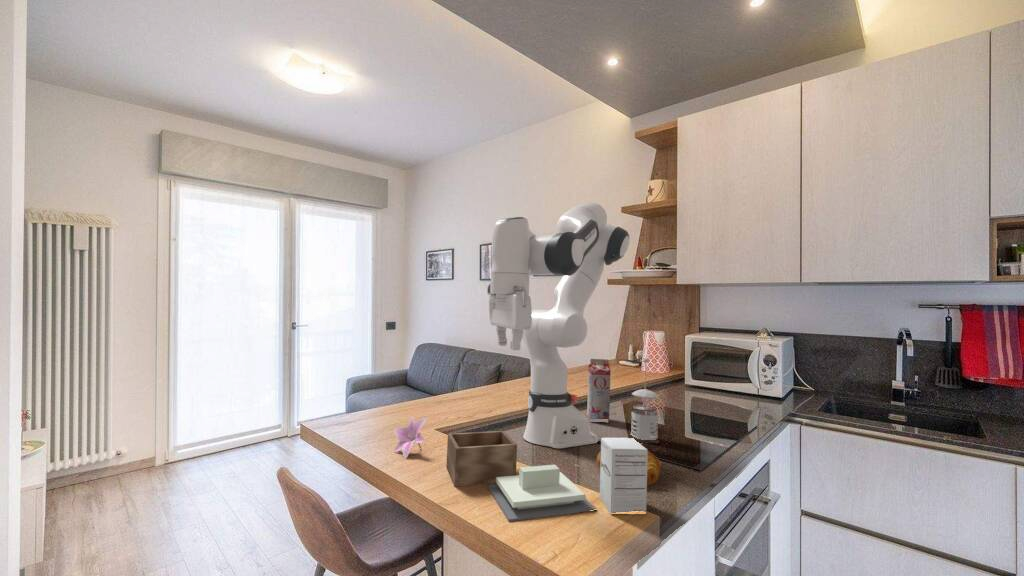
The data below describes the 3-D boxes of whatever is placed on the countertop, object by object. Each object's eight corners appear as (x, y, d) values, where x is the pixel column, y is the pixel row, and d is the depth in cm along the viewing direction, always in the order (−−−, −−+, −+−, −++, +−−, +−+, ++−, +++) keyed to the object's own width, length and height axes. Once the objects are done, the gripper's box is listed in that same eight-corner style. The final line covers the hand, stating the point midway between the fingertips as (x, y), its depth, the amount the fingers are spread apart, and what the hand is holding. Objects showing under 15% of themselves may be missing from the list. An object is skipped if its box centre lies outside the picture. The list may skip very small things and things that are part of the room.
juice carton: (609, 423, 147) (610, 360, 148) (590, 422, 147) (592, 359, 148) (605, 418, 154) (606, 358, 155) (587, 417, 154) (588, 357, 155)
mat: (564, 480, 95) (564, 478, 95) (596, 510, 81) (596, 508, 81) (488, 487, 90) (488, 485, 90) (508, 521, 76) (508, 519, 76)
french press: (626, 441, 127) (627, 358, 128) (630, 431, 138) (631, 355, 139) (660, 446, 123) (661, 361, 125) (661, 435, 134) (663, 357, 136)
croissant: (629, 501, 91) (632, 466, 90) (585, 466, 105) (588, 435, 104) (675, 488, 98) (679, 456, 97) (629, 457, 112) (632, 428, 111)
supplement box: (598, 498, 87) (600, 436, 88) (633, 498, 87) (634, 437, 88) (609, 515, 80) (611, 448, 80) (647, 515, 80) (648, 448, 81)
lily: (393, 448, 115) (383, 423, 112) (430, 430, 119) (421, 406, 115) (401, 475, 106) (390, 448, 102) (441, 455, 109) (431, 429, 106)
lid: (559, 481, 94) (560, 455, 94) (585, 506, 82) (586, 476, 82) (495, 487, 89) (496, 460, 89) (512, 514, 78) (514, 483, 78)
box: (502, 463, 104) (503, 430, 105) (515, 480, 94) (517, 444, 94) (446, 467, 100) (447, 433, 101) (454, 486, 90) (455, 448, 90)
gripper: (540, 286, 86) (538, 352, 86) (509, 288, 106) (508, 343, 105) (511, 284, 84) (509, 353, 84) (485, 287, 104) (483, 343, 103)
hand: (508, 347), depth 95 cm, fingers open, 8 cm apart
